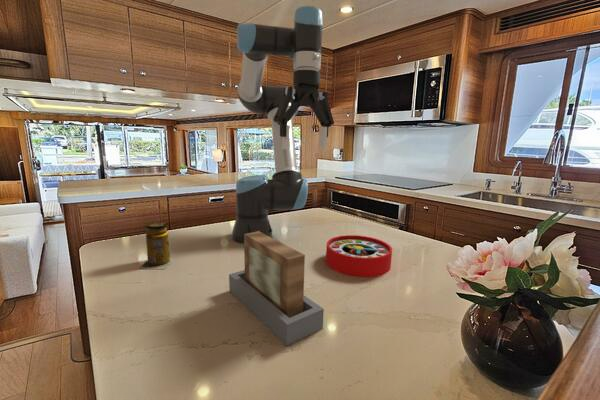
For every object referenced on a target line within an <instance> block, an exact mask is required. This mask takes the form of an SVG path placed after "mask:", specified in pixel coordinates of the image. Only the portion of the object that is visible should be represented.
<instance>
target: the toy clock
mask: <svg viewBox="0 0 600 400" xmlns="http://www.w3.org/2000/svg"><path fill="white" fill-rule="evenodd" d="M325 253H326V255H325V263H326V265H327V266H328V268H330V269H332V270H334V271H335V272H338V273H340V274H343V275H346V276H350V277H356V278H371V277H372V278H373V277H379V276H383V275H385V274H387V273H389V271H390V270H391V268H392V267H391V265H392V258H393V257H392V256H393V248H392V246H391V245H390V244H389V243H387V242H385V241H384V240H381V239H379V238H374V237H371V236H365V235H357V234H354V235H352V234H349V235H348V234H346V235H340V236H334V237H331V238H330V239H329V240H327V242H326V252H325Z"/></svg>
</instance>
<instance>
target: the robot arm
mask: <svg viewBox="0 0 600 400" xmlns="http://www.w3.org/2000/svg"><path fill="white" fill-rule="evenodd" d="M293 22H294V23H293V25H294V26H293V27H284V26H277V25H276V26H275V25H274V26H273V25H266V24H259V23H252V22H250V23H247V22H246V23H244V22H241V23H238V25H237V33H236V34H237V35H236V37H237V39H236V40H237V41H236V43H237V45H236V46H237V50H238V51H239V52H240V53H242V61H241V62H242V63H241V72H240V73H241V74H240V75H241V76H240V82H239V83H238V86H237V92H236V93H237V97H238V100H239V102H240V104H241V105H242V106H243V107H244V108H245V109H247V110H248V111H250V112H251V113H253V114H256V115H266V116H267V120H268V121H269V122H271V131H272V134H271V135H272V144H273V145H272V146H273V157H274V168H275V170H274V173H273V174H272V176H271V179H270V178H269V176H268V175H266V174H258V175H257V174H256V175H249V176H244V177H241V178H239V179H238V180H237V181H236V183H235V184H236V185H235V187H236V188H235V194H236V203H235V204H236V205H235V206H236V217H235V219H236V220H235V222H234V225H233V227H232V228H233V229H232V232H231V234H232V235H231V236H232V237H231V238H232V240H233V241H235V242H237V243H241V244H244V234H247V233H252V232H257V231H260V232H261V233H263V234H265V235H267V236H269V237H271V238H273V229H272V226H271V223H270V220H269V217H268V216H269V212H268V211H281V210H286V211H287V210H288V211H289V210H291V211H293V210H300V209H303V208H304V207H305V206H306V203H307V199H308V194H309V193H308V192H309V182H308V180H307V179H306V178H303V176H302V175H303V174H302V172H301V171H299V170H298V165H297V164H298V163H297V154H296V145H295V137H294V128H293V121H294V119H295V117H296V116H297V114H298V112H299V108H300V107H306V108H307V107H308V108H310V109H311V110H312V112H313V113H314V115H315V117H316V118H317V120H318V123H319V124H320V126H319V128H318V146H317V147H318V148H317V149H318V150H320V149H321V150H327V138H328V137H329V128H330V127H331V126H333V125H334V124H335V121H334V118H333V114H332V110H331V108H330V104H329V100H328V92H327V91H321V92H320V91H319V88H320V86H321V72H320V71H321V67H322V65H321V64H322V42H323V26H324V22H323V11H322V10H321V9H320V8H319V7H317V6H314V5H301V6H299V7H298V8H296V9H295V11H294V19H293ZM268 55H273V56H283V57H288V58H289V59H291V60H293V67H292V69H293V70H294V71H293V72H292V73H293V77H292V78H293V80H292V81H293V82H292V85H293V86H285V85H284V86H276V85H267V84H266V85H263V79H264V72H265V67H266V63H267V58H268Z"/></svg>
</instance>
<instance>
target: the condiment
mask: <svg viewBox="0 0 600 400" xmlns="http://www.w3.org/2000/svg"><path fill="white" fill-rule="evenodd" d="M169 240H170V239H169V231H168V230H167V223H166V222H162V221H158V222H157V221H155V222H151V223H148V224H147V225H146V234H145V242H146V254H147V260H146V261H145V262H144V263H142V265H140V266H139V267H138V269H142V270H143V269H144V270H146V269H147V270H164V269H166V267H168V265H170V264H171V262H172V261H174V260H175V258H176V257H175V256H172V257H170V241H169Z"/></svg>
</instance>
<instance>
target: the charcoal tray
mask: <svg viewBox="0 0 600 400" xmlns="http://www.w3.org/2000/svg"><path fill="white" fill-rule="evenodd" d="M228 279H229V281H228V283H229V287H228V288H229V289H228V290H229V292H230V293H231V295H232V294H233V296H234V297H235V298H237V300H238V301H239V302H241V303H242V304H243V305H244V307H246V308H247V309H248V310H249V311H250V312H251V313H252V314H253V315H254V316H255V317H256V318H257V319H258V320H259V321H260V322H261V323H262V324H263V325H264V326H265V327H267V328H268V329H269V330H270V331H271V332H272V333H273V335H275V336H276V337H277V338H278V339H279V340H280V341H281V342H282V343H283V344H284V345H286V346H287V347H288V346H291V345H292V344H294V343H296V342H298V341H301V340H302V339H304V338H306V337H308V336H310V335H313V334H314V333H316V332H318V331H322V330H323V329H324V313H325V312H324V310H325V309H324V307H321V306H320V305H319V304H317V303H316V302H315V301H313V300H312V299H310V298H308V297H307V296H306V295H304V297H303V312H302V313H300V314H297V315H295V316H293V317H290V318H289V317H287V316H286V315H285V314H284V313H283V312H281V311H280V310H279V309H278V308H277V307H275V306H274V305H273V304H272V303H271V302H269V301H268V300H267V299H266V298H265V297H263V296H262V295H261V294H260V293H259V292H257V291H256V290H255V289H254V288H252V287H251V286H250V285H249V284H248V283H246V282H245V269H243V270H240V271H235V272H232V273H229V274H228Z"/></svg>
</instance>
